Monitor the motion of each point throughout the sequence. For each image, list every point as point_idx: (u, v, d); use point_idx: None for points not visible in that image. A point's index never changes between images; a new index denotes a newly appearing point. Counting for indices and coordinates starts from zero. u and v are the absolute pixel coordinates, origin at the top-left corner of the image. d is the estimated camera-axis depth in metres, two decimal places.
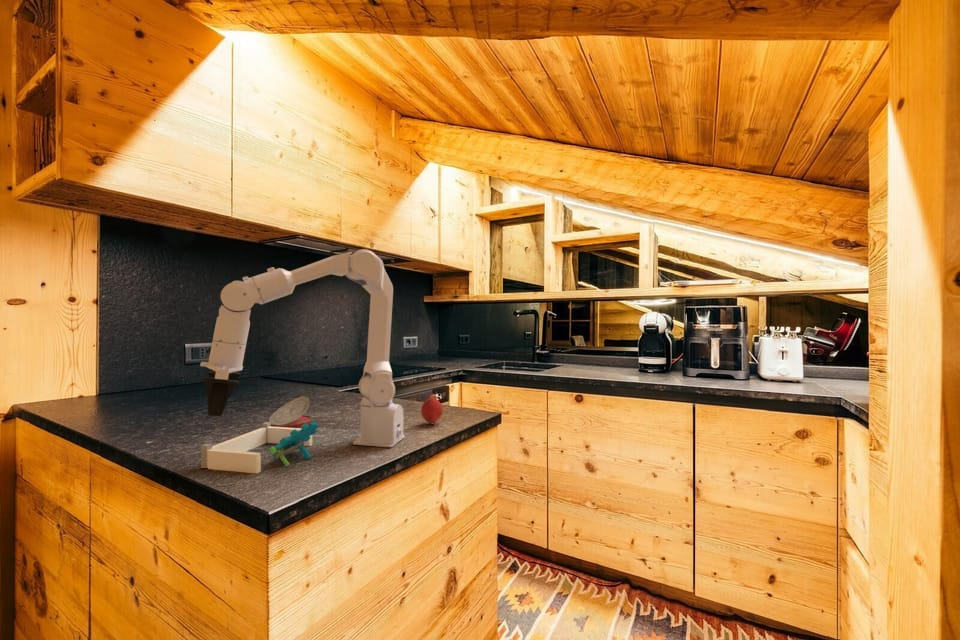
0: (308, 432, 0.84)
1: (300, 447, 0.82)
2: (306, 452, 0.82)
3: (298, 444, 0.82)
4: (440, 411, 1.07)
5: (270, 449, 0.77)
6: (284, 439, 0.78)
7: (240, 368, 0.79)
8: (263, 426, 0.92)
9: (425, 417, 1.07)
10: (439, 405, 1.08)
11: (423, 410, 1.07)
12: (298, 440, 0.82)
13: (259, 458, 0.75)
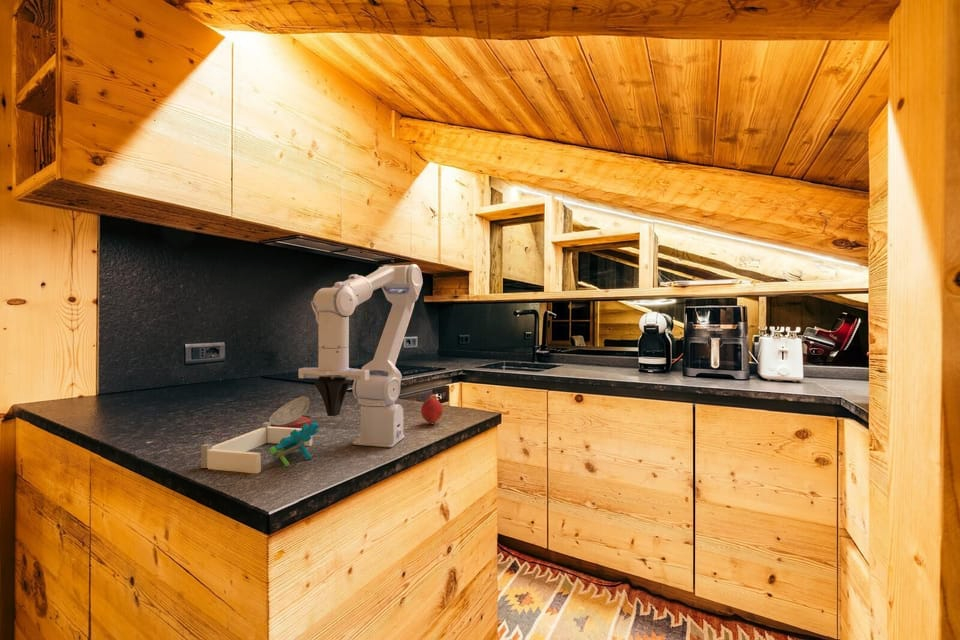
0: (309, 432, 0.84)
1: (300, 447, 0.82)
2: (306, 452, 0.82)
3: (298, 444, 0.82)
4: (440, 411, 1.07)
5: (270, 449, 0.77)
6: (284, 439, 0.78)
7: None
8: (263, 426, 0.92)
9: (425, 417, 1.07)
10: (439, 405, 1.08)
11: (423, 410, 1.07)
12: (298, 440, 0.82)
13: (259, 458, 0.75)
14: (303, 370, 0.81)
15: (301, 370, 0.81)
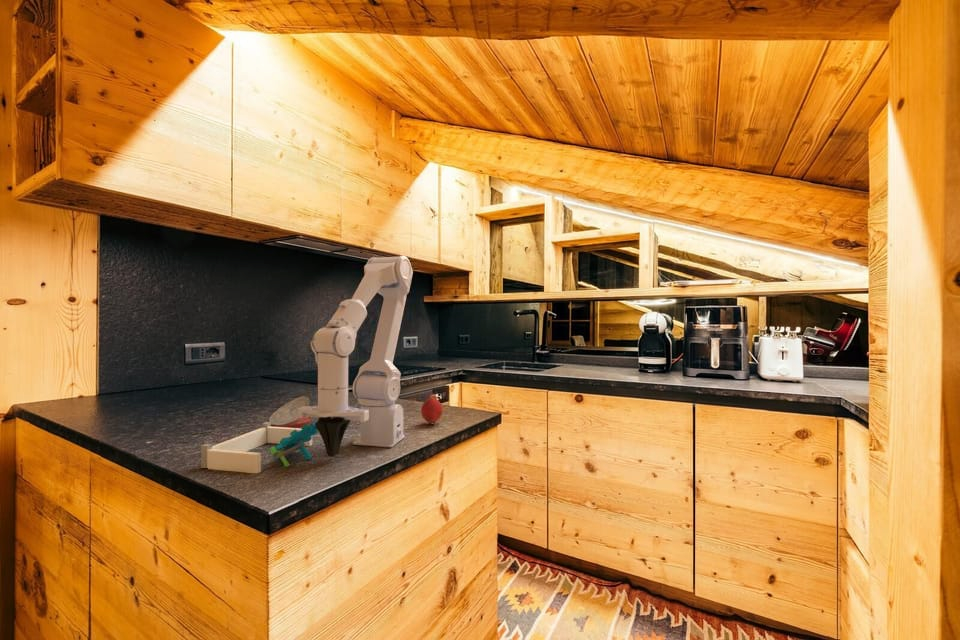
0: (309, 432, 0.84)
1: (300, 447, 0.82)
2: (306, 453, 0.82)
3: (298, 444, 0.81)
4: (440, 411, 1.07)
5: (270, 449, 0.77)
6: (284, 439, 0.78)
7: None
8: (263, 426, 0.92)
9: (425, 417, 1.07)
10: (439, 405, 1.08)
11: (423, 410, 1.07)
12: (299, 440, 0.82)
13: (259, 458, 0.75)
14: (302, 410, 0.81)
15: (300, 410, 0.81)
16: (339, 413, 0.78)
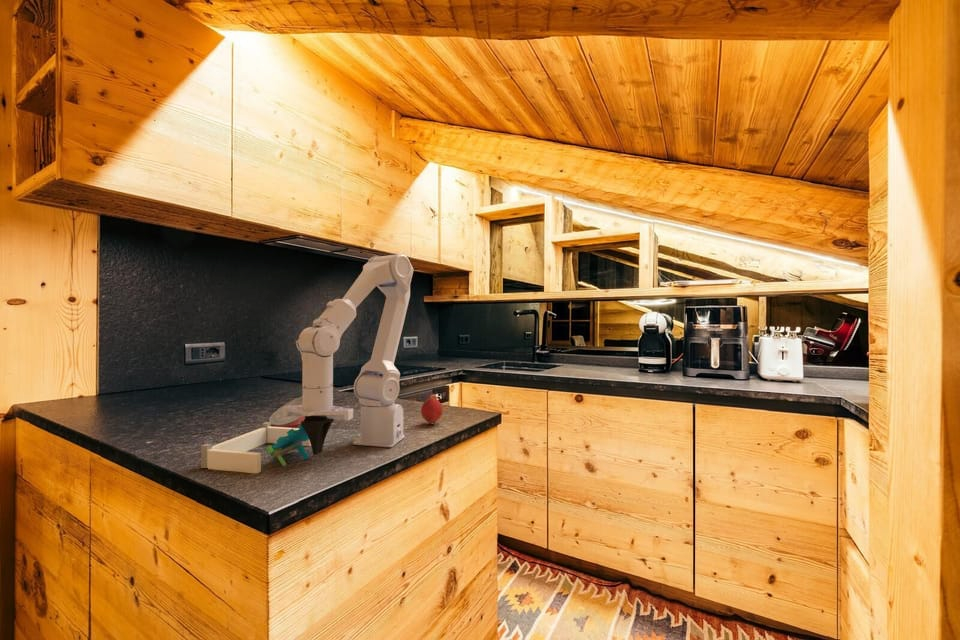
0: None
1: (298, 447, 0.82)
2: (304, 452, 0.82)
3: (296, 444, 0.82)
4: (440, 411, 1.07)
5: (267, 448, 0.77)
6: (281, 438, 0.78)
7: None
8: (263, 426, 0.92)
9: (425, 417, 1.07)
10: (439, 405, 1.08)
11: (423, 410, 1.07)
12: (296, 440, 0.82)
13: (259, 458, 0.75)
14: (287, 409, 0.81)
15: (285, 409, 0.81)
16: (323, 412, 0.79)
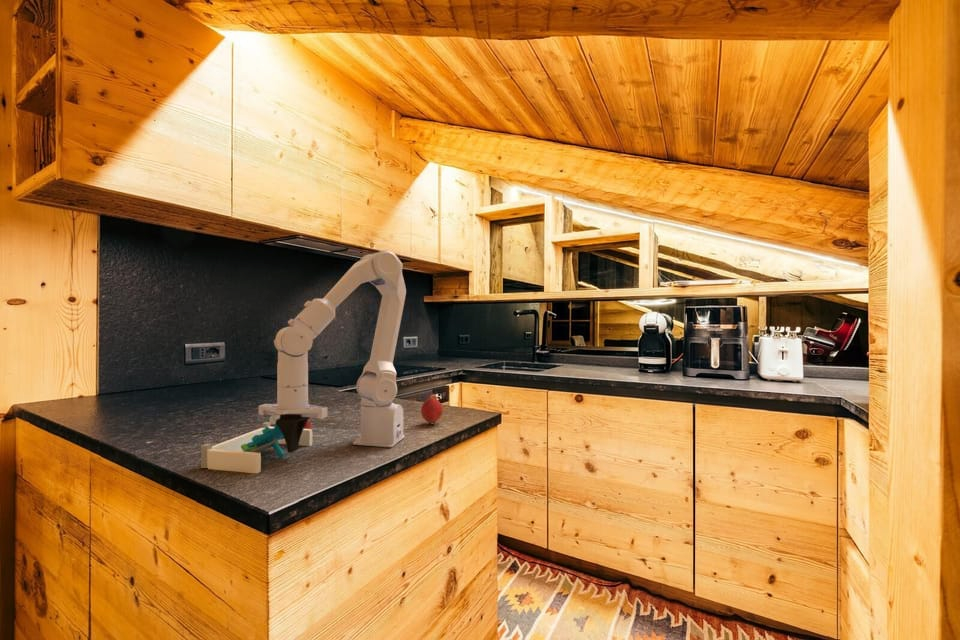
0: None
1: (273, 445, 0.83)
2: (279, 450, 0.83)
3: (271, 442, 0.83)
4: (440, 411, 1.07)
5: (242, 446, 0.78)
6: (256, 436, 0.79)
7: None
8: (263, 426, 0.92)
9: (425, 417, 1.07)
10: (439, 405, 1.08)
11: (423, 410, 1.07)
12: (272, 438, 0.83)
13: (259, 458, 0.75)
14: (263, 407, 0.82)
15: (261, 408, 0.83)
16: (297, 410, 0.80)
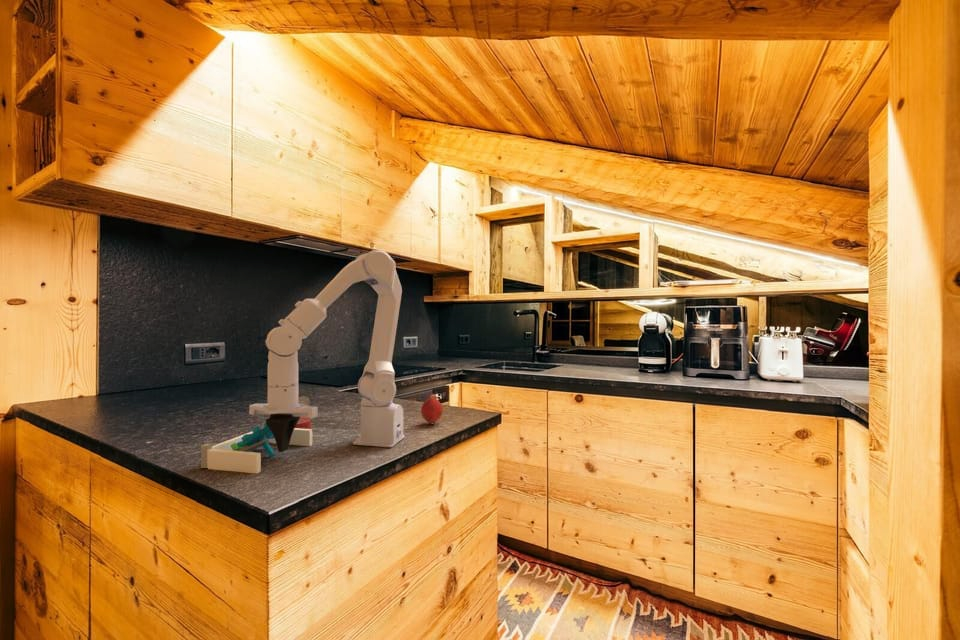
0: None
1: (264, 444, 0.83)
2: (269, 449, 0.83)
3: (261, 441, 0.83)
4: (440, 411, 1.07)
5: (232, 446, 0.79)
6: (246, 436, 0.80)
7: None
8: (263, 426, 0.92)
9: (425, 417, 1.07)
10: (439, 405, 1.08)
11: (423, 410, 1.07)
12: (262, 437, 0.84)
13: (259, 458, 0.75)
14: (253, 407, 0.83)
15: (251, 407, 0.83)
16: (287, 410, 0.80)
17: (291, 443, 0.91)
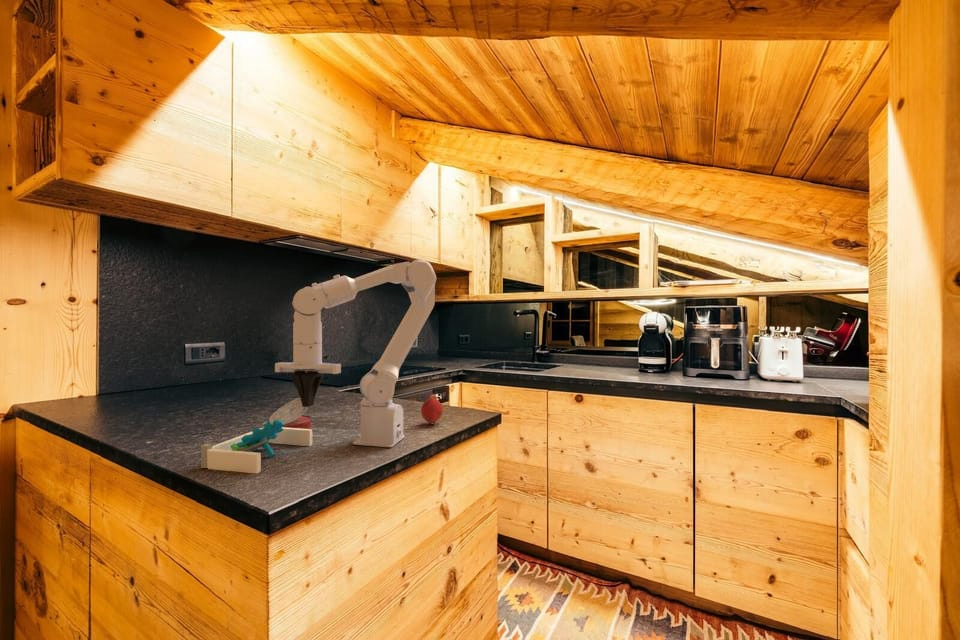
0: (273, 430, 0.85)
1: (264, 445, 0.83)
2: (269, 450, 0.83)
3: (261, 442, 0.83)
4: (440, 411, 1.07)
5: (231, 446, 0.79)
6: (246, 436, 0.80)
7: None
8: (263, 426, 0.92)
9: (425, 417, 1.07)
10: (439, 405, 1.08)
11: (423, 410, 1.07)
12: (262, 438, 0.84)
13: (259, 458, 0.75)
14: (279, 364, 0.87)
15: (277, 365, 0.87)
16: (313, 366, 0.85)
17: (291, 443, 0.91)
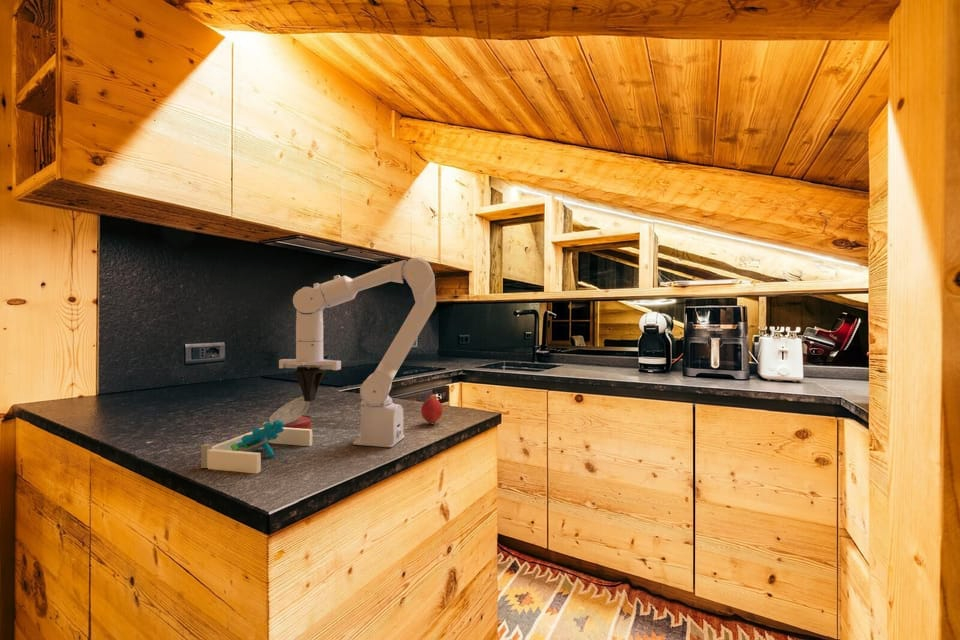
0: (273, 430, 0.85)
1: (264, 445, 0.83)
2: (269, 450, 0.83)
3: (262, 442, 0.83)
4: (440, 411, 1.07)
5: (231, 446, 0.79)
6: (245, 436, 0.80)
7: None
8: (263, 426, 0.92)
9: (425, 417, 1.07)
10: (439, 405, 1.08)
11: (423, 410, 1.07)
12: (262, 438, 0.84)
13: (259, 458, 0.75)
14: (283, 361, 0.92)
15: (281, 361, 0.92)
16: (314, 362, 0.89)
17: (291, 443, 0.91)
